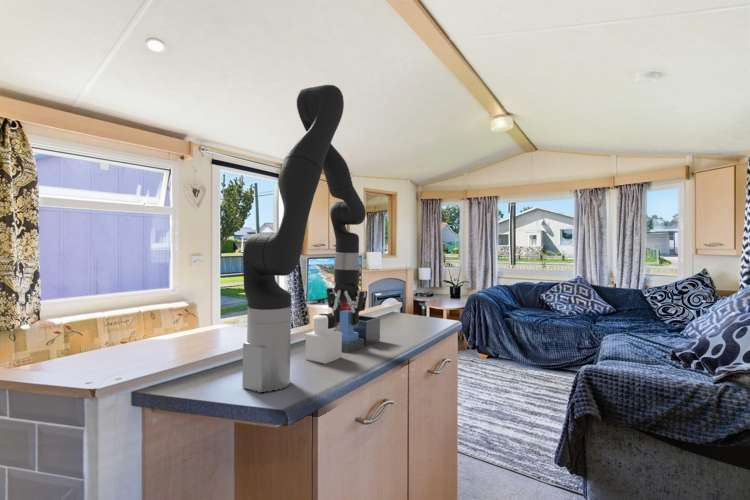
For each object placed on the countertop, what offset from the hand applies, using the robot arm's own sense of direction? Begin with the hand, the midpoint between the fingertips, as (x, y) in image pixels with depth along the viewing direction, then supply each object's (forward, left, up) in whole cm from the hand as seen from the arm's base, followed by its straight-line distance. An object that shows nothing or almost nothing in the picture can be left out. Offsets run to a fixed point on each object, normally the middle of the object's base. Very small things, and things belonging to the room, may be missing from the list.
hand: (345, 323), depth 116 cm
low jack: (0, 0, -7) cm, 7 cm away
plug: (0, 0, -6) cm, 6 cm away
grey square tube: (+9, 0, -7) cm, 12 cm away
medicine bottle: (-12, -2, -8) cm, 15 cm away
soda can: (+18, +15, -8) cm, 24 cm away
